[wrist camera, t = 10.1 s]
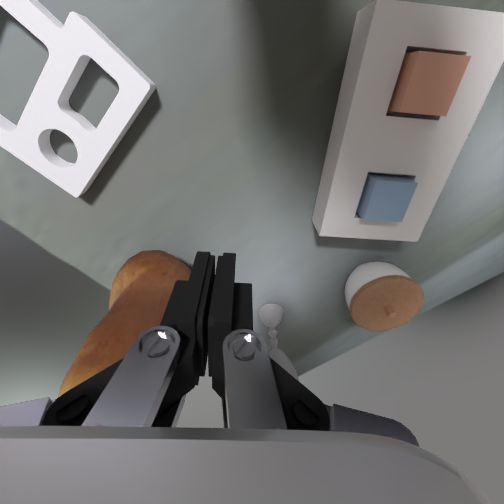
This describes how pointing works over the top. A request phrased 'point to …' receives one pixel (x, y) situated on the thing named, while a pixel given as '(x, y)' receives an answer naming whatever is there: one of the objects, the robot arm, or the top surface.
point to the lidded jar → (382, 296)
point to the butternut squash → (128, 312)
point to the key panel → (402, 124)
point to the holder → (59, 91)
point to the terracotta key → (428, 82)
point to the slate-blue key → (385, 197)
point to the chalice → (272, 318)
